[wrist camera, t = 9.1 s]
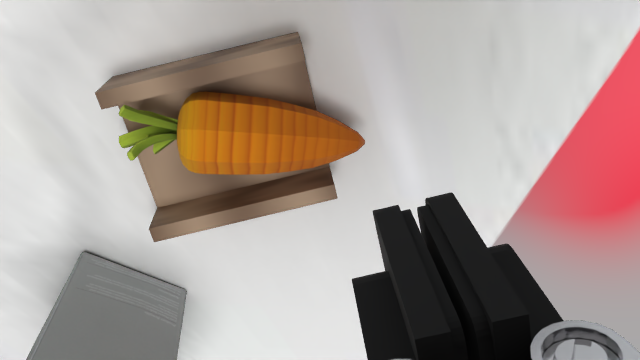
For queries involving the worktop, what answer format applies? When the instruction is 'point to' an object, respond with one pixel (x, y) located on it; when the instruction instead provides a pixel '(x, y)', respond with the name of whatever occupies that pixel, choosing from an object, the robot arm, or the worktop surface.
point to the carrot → (242, 135)
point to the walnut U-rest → (219, 189)
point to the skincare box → (112, 316)
